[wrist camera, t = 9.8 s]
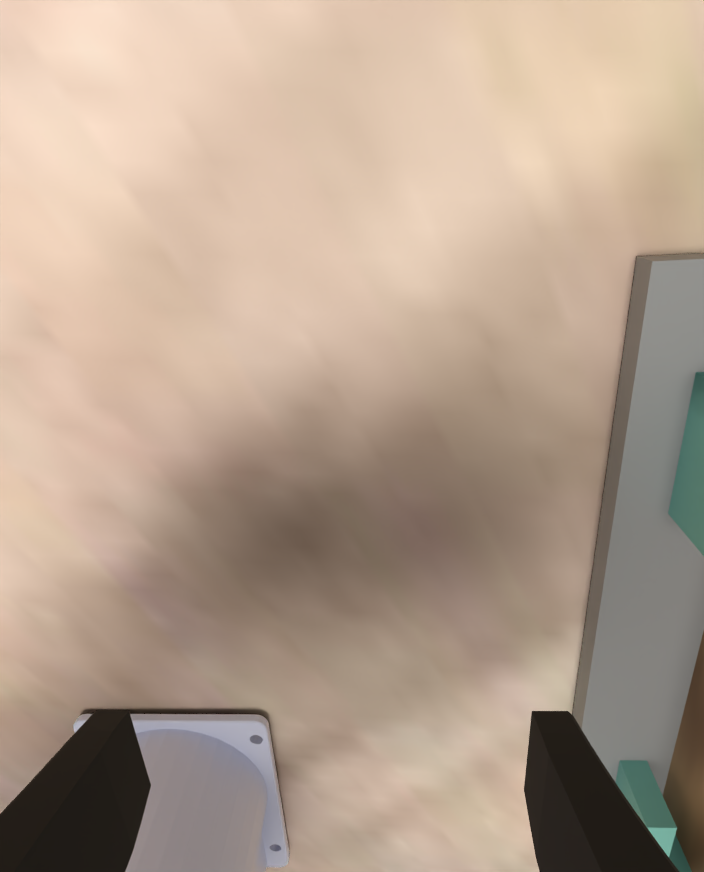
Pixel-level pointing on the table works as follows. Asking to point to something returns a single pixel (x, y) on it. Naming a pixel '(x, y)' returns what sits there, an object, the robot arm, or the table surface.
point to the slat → (689, 772)
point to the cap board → (650, 545)
